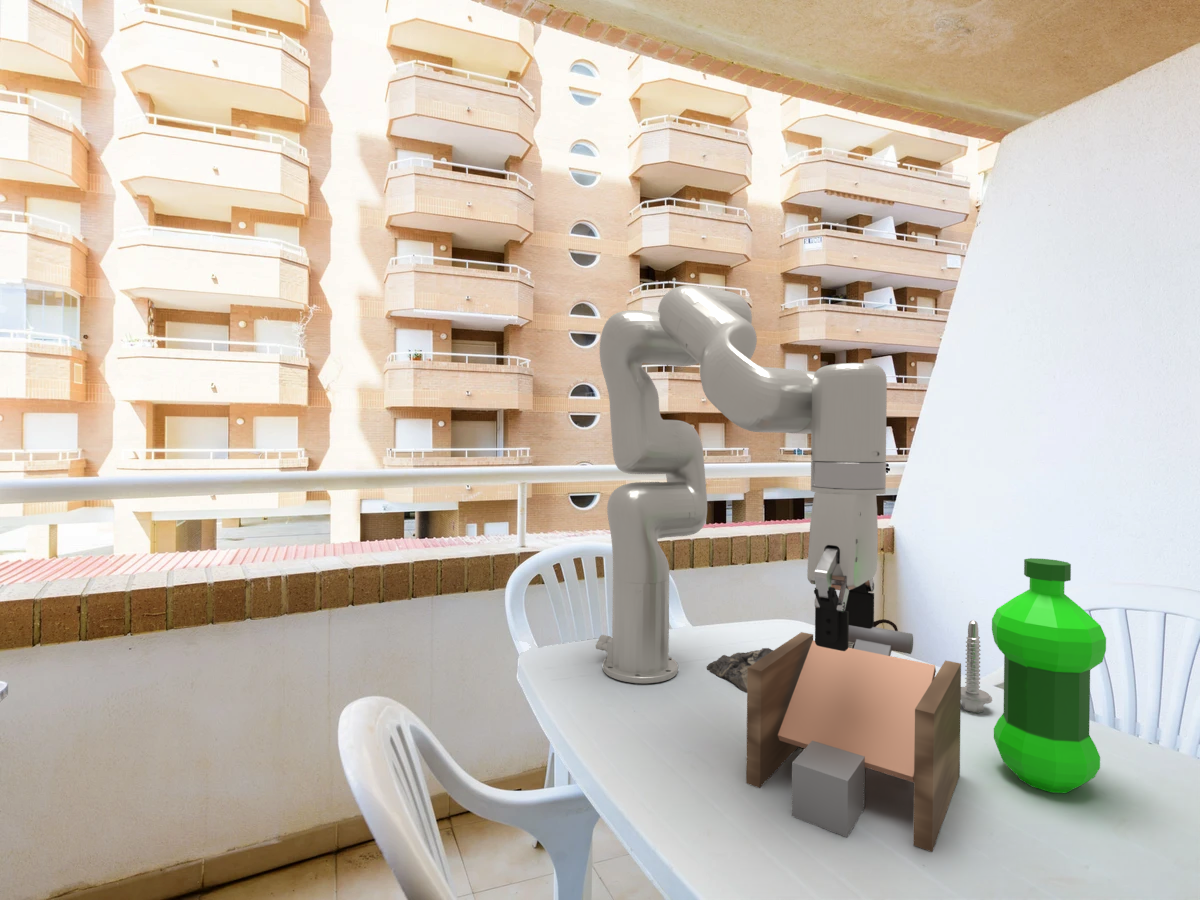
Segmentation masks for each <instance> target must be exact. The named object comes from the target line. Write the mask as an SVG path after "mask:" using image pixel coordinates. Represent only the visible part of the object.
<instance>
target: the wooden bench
mask: <svg viewBox="0 0 1200 900" xmlns="http://www.w3.org/2000/svg"><path fill="white" fill-rule="evenodd" d="M812 641H814V634H813V633H807V632H803V631H800V632H799V633H797V634H796V635H795V636H793V637H792V638H791V639H789V640H788V641H786V642H784V643H782V644H781V645H779V646H778V647H776V648H775V649H773V650H774V651H772V652H771V653H769V654H768V655H766V656H764V657H763V658H761V659H760V660H758V661H757V662H755V663H754V664H752V665H751V666H749V667H748V668H747V692H746V696H747V697H746V765H745V766H746V770H745V771H746V776H745V777H746V779H745V780H746V782H745V784H747V785H751V786H753V787H755V788H759V789H761V788H762V786H764V785H765V783H767V781H768V780H769V779H770V778H771V777H772V775H774V774H775V773H776V772H777V771H778V770H779V768H780V767H781V766H782V765H784V763H785V762H786V761H787V760H788V759H789V758H790V756H792V754H794V752H795V751H796V750H797V749H798V748H800V747H799V746H796V745H792V744H789V743H786V742H783V741H780V740H779V738H778V733H779V730H780V728H781V725H782V722H783V720H784V717H785V714H786V711H787V709H788V706H789V703H790V701H791V698H792V695H793V692H794V690H795V687H796V684H797V682H798V679H799V676H800V674H801V671H802V668H803V665H804V663H805V660H806V657H807V655H808V652H809V649H810V647H811V644H812ZM961 687H962V663H960V662H957V661H950V660H944V662H943V663H942V664H941V667H940V668H939V670H938V671H937V673H936V674H935V678H934V679H933V681H932V683H931V684H930V686H929V687H928V689H927V691H926V692H925V694H924V695H923V697H922V699H921V700H920V702H919V703H918V705H917V707H916V708H915V748H914V783H913V834H912V835H913V837H912V838H913V840H912V841H913V842H912V843H913V846H915V847H917V848H920V849H922V850H925V851H928V852H931V853H933V851H934V849H935V847H936V846H935V845H936V842H937V840H938V837H939V834H940V832H941V829H942V826H943V823H944V821H945V817H946V815H947V813H948V809H949V806H950V804H951V802H952V801H951V800H952V798H953V795H954V793H955V790H956V787H957V784H958V782H959V779H960V776H961V775H960V773H961V770H960V769H961V711H962V710H961V707H962V706H961Z"/></svg>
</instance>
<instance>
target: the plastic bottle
mask: <svg viewBox="0 0 1200 900" xmlns="http://www.w3.org/2000/svg"><path fill="white" fill-rule="evenodd" d="M1023 561H1024V562H1023V567H1024V568H1023V570H1024V571H1023V575H1024V576H1025V577H1027V578H1029V589H1027V590H1025V591H1024V592H1022V593H1021V594H1020V593H1019V594H1018V595H1016V596H1015V597H1013V598H1011V599H1010V600H1008V601H1007V602H1006V603H1004V604H1002V605H1001V606H999V607H997V609H996V610H995V612H994V614H993V615H992V616H993V617H992V618H991V632H992V638H993V641H994V644H995V645H996V647H997V648H998V650H999V651H1000V652H1001V653H1002V654H1003V655H1004V658H1003V664H1004V665H1003V713H1002V714H1001V715H1000V717H999V718H998V720H997V721H996V723H995V725H994V728H993V740H994V742H995V745H996V747H997V750H998V752H999V755H1000V758H1001V759H1002V760H1001V761H1003V762H1004V764H1005V765H1006V766H1007V767H1008V769H1010V770H1011V771H1012V772H1013V774H1015V775H1017V777H1018V779H1019V780H1021V781H1022V782H1024V783H1025V784H1027V785H1029V786H1030V787H1033V788H1034V789H1035V788H1036V789H1038V790H1042V791H1045V792H1048V793H1057V794H1067V793H1068V792H1071V791H1072V790H1074V789H1076V788H1077V789H1078V787H1080V786H1082V785H1084V784H1086V783H1088V782H1089V781H1091V780H1092V779H1094V778H1096V776H1097V773H1098V772H1099V770H1100V769H1101V756H1100V753H1099V751H1098V748H1097V746H1096V744H1095V742H1094V741H1093V738H1092V737H1091V735H1090V718H1091V717H1090V713H1091V712H1090V709H1091V707H1090V706H1091V705H1090V703H1091V696H1090V695H1091V670H1092V669H1094V668H1095V667H1097V666H1098V665H1100V664H1101V663H1103V660H1104V658H1105V655H1106V653H1107V652H1106V651H1107V637H1106V635H1105V632H1104V630H1103V628H1102V626H1101V624H1100V623H1098V621H1096V620H1095V619H1094V617H1092V616H1091V615H1090V614H1089V613H1088V612H1086V611H1085V610H1084V609H1083V608H1082V607H1081V606H1079V605H1078V604H1077V603H1076V602H1075V601H1074V600H1072V599H1071V598H1070V597H1069V596H1067V594H1065V582H1068V581H1071V579H1072V577H1071V576H1072V574H1071V573H1072V571H1071V570H1072V569H1071V568H1072V567H1071V566H1072V564H1071V563H1069V562H1068V561H1064V560H1063V561H1062V560H1057V559H1050V558H1049V559H1048V558H1032V557H1031V558H1025V559H1023Z"/></svg>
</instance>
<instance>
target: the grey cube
mask: <svg viewBox="0 0 1200 900" xmlns="http://www.w3.org/2000/svg"><path fill="white" fill-rule="evenodd" d="M791 762H792V763H791V817H793V818H796V819H798V820H800V821H803V822H806V823H807V824H808V823H809V824H812V825H814V826H816V827H819V828H822V829H825V830H827V831H830V832H831V833H832V832H833V833H835V834H837V835H840V836H842V837H843V838H844V837H845V838H848V837H849V835H850V833H851V832H852V831H853V829H854V827H855V826H856V824H857V822H858V820H859V819H860V817H861V815H862V814H863V811H864V810H865V782H866V779H865V775H866V774H865V771H866V770H865V769H866V767H865V756H861V755H858V754H855V753H851V752H848V751H845V750H842V749H838V748H835V747H832V746H828V745H825V744H822V743H819V742H815V741H811V742H810V744H809V745H808V746H807V747H806V748H803V750H802V751H801V752H800V753H799V754H798V756H796V757H795V759H794V760H793V761H791Z"/></svg>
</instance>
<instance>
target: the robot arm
mask: <svg viewBox="0 0 1200 900" xmlns="http://www.w3.org/2000/svg"><path fill="white" fill-rule="evenodd" d="M752 321H753V316H752V310H751V307H750V305H749V304H748V302H747V300H745V298H744V297H742V296H741V295H740V294H738V293H736V292H733V291H729V290H724V289H717V288H711V287H705V286H699V285H692V284H688V285H680V286H676V287H674V288H672V289H671V290H669V291H668V292H666V294H665V295H664V296H663V297H662V298H661V299H660V302H659V305H658V308H657V312H656V311H648V310H633V309H632V310H629V309H628V310H622V311H619V312H616V313H615V314H612V315H611V316H610V317H609V318H608V319H607V320H606V322H605V323H604V326H603V327H602V331H601V334H600V341H599V360H600V361H599V362H600V367H601V371H602V375H603V379H604V380H605V385H606V389H607V394H608V399H609V400H608V401H609V414H610V417H609V418H610V429H611V430H610V432H611V433H610V434H611V446H612V454H613V455H612V456H613V460H614V464H615V466H616V468H617V469H618V470H619V471H620V472H623V473H625V474H629V475H630V474H631V475H665V477H666V481H663V482H662V481H642V482H641V481H639V482H637V481H636V482H630V483H626V484H623V485H621V486H618V487H616V488H615V489H614V490H613V491H612V493H611V494H610V496H609V498H608V501H607V507H606V509H607V510H606V511H607V521H608V525H609V531H610V539H611V549H612V550H611V551H612V621H611V622H612V626H611V627H612V632H611V636H612V637H611V636H609V635H605V634H601V635H600V636H599V637H598V641H597V642H596V644H595V648H596V650H599V651H605V652H606V657H605V659H604V660H603V662H602V670H603V672H604V673H605V674H606V675H607V676H609V677H610V678H611V679H615V680H617V681H621V682H625V683H632V684H657V683H661V682H665V681H668V680H670V679H671V680H672V679H673V678H674V677H675V676H677V675H678V672H679V671H678V670H679V665H678V662H677V661H676V660H675V659H674V658H672V657H670V655H669V652H670V651H669V650H670V649H669V647H670V645H669V643H670V642H669V641H670V640H669V638H670V634H669V633H670V632H669V631H670V565H669V562H668V558H667V557H666V556H667V555H666V554H665V552H664V551H663V549H662V547H661V546H660V544H659V542H658V539H659V540H660V539H663V538H664V539H665V538H677V537H686V536H692V535H693V536H694V535H695V534H698V533H699V532H700V531H701V530H702V529H703V528H704V525H705V524H706V522H707V521H706V520H707V516H708V498H707V497H708V495H707V482H706V481H707V480H706V470H705V468H706V467H705V459H704V450H703V443H702V441H701V436H700V435H699V433H698V431H697V430H696V429H695V427H694V426H693V425H692V424H690V423H688V422H686V421H683V420H678V419H663V417H662V415H661V411H660V397H659V392H658V390H657V387H656V385H655V383H654V381H653V380H652V378H651V376H650V374H648V372H647V371H646V370H645V369H644V368H643V364H651V365H661V366H663V365H664V366H674V367H690V366H695V365H698V364H699V365H700V366H699V377H700V383H701V387H702V390H703V392H704V395H705V397H706V398H707V400H708V401H709V402H710V404H712V405H713V406H714V407H715V408H716V409H717V410H718V411H719V412H720V413H721V414H722V415H723V416H724V417H725V418H727V419H728V420H729V421H730V422H731V423H733V424H734V425H736V426H737V427H739V428H741V429H743V430H745V431H749V432H753V433H777V434H778V433H782V434H783V433H784V434H808V435H810V434H811V436H810V439H811V441H810V443H811V444H810V454H811V455H810V460H811V461H810V491H811V492H812V493H813V492H814V495H813V498H812V499H813V500H812V507H811V513H810V514H811V515H810V522H809V523H810V524H809V535H808V537H809V540H808V553H807V555H808V556H807V574H806V575H807V580H808V582H809V583H810V584H811V585H815V587H814V590H813V594H814V595H815V597H814V607H815V610H814V611H815V613H814V615H815V616H814V617H815V618H814V641H815V644H816V645H817V646H820V647H825V648H830V649H835V650H840V651H846V650H847V649H848V641H849V625H851V626H857V627H862V628H868V629H871V628H872V627H873V626H874V621H875V593H874V590H875V582H874V581H875V580H874V579H873V578H874V577H875V575H876V573H877V569H878V568H877V567H878V558H879V557H878V555H879V554H878V551H879V537H878V535H879V533H878V530H879V528H878V527H879V526H878V504H877V495H885V494H886V492H887V491H886V485H887V481H886V479H887V475H886V474H887V469H886V468H887V463H886V462H887V405H888V404H887V403H888V402H887V400H888V399H887V398H888V393H887V392H888V391H887V390H888V388H887V386H888V384H887V383H888V382H887V381H888V380H887V375H886V372H885V370H884V369H883V368H882V367H881V366H879V365H877V364H874V363H868V362H867V363H866V362H848V363H847V362H844V363H834V364H833V363H832V364H829V365H824V366H822V367H820V368H818V369H817V370H816V371H813V370H812V371H810V370H802V369H792V368H791V369H790V368H782V367H771V366H770V367H769V366H762V365H759V364H758V363H755V362H754V361H752V360H751V359H752V357H753V355H754V354H755V350H756V348H757V341H758V338H757V332H756V330H755V328H754V325H753V324H752V323H753V322H752ZM837 591H839V594H838V593H837Z"/></svg>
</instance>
